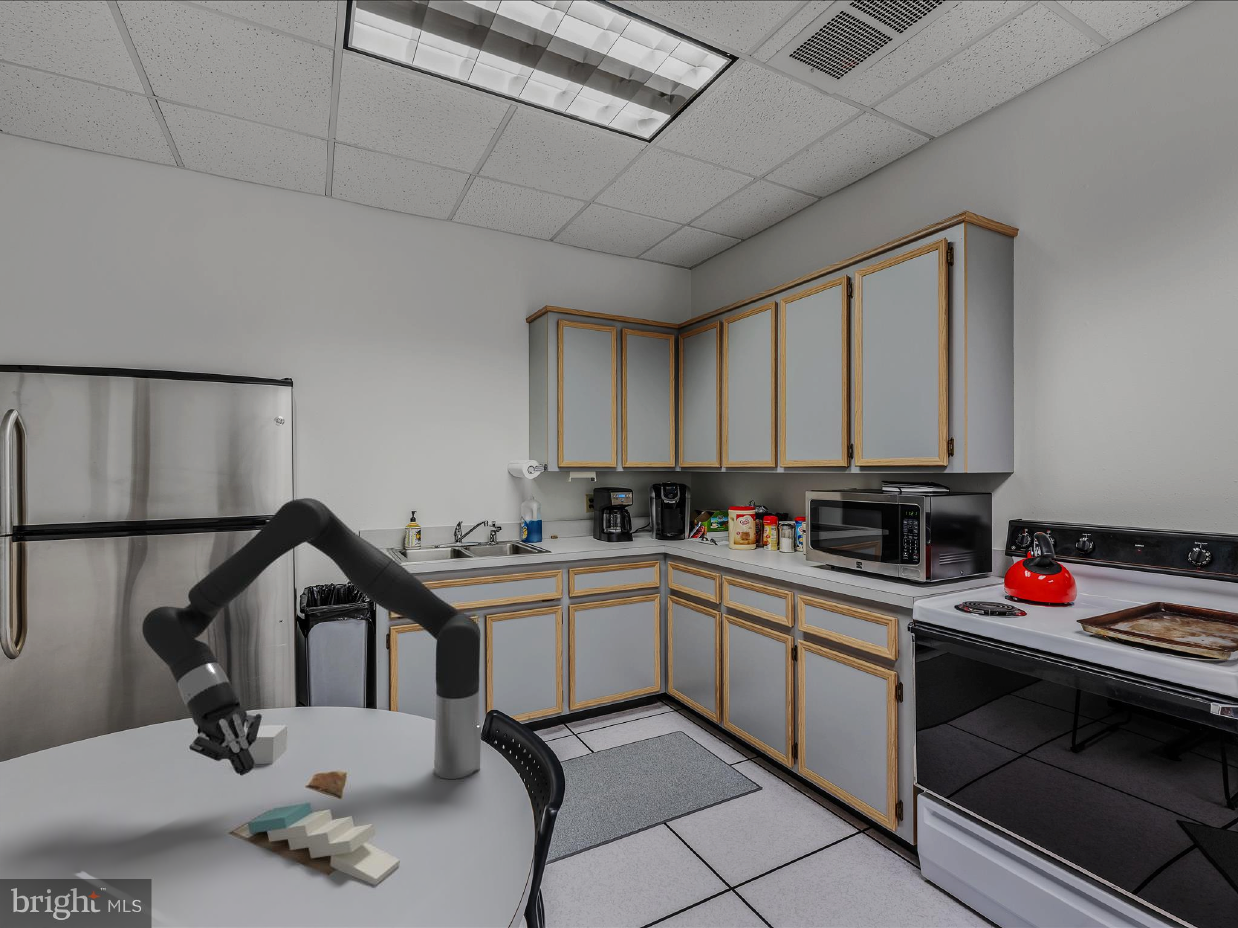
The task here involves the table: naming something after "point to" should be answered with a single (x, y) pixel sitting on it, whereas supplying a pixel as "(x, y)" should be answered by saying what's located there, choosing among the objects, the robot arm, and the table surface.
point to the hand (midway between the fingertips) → (247, 771)
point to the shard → (329, 783)
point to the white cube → (269, 744)
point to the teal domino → (279, 818)
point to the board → (284, 849)
